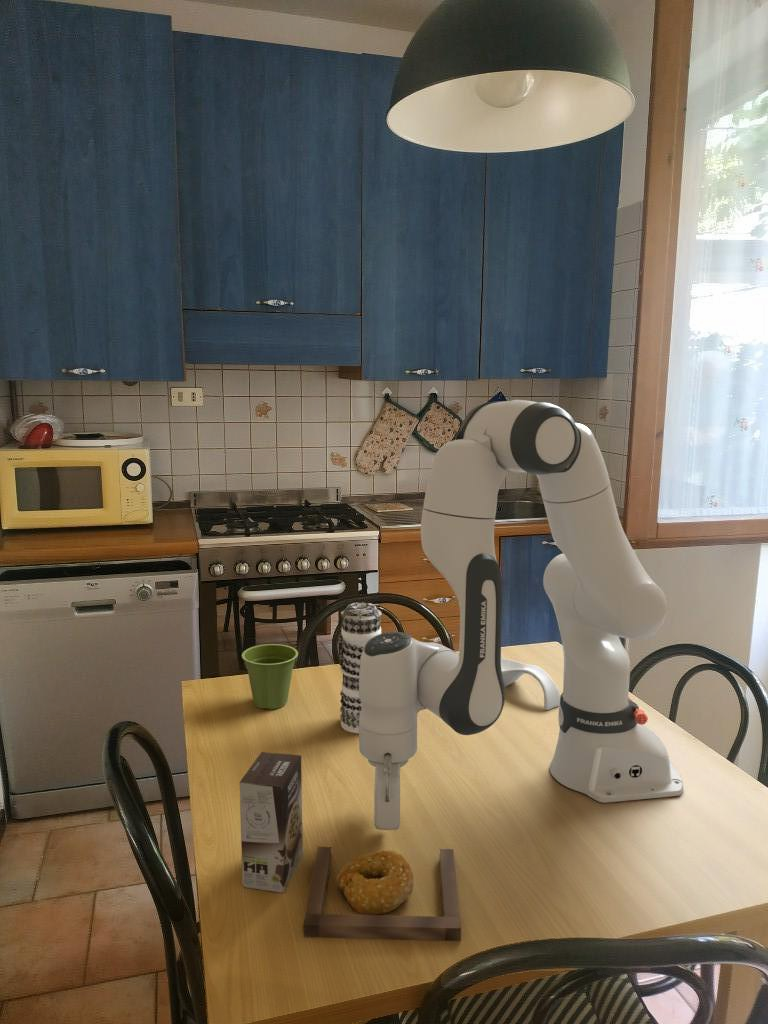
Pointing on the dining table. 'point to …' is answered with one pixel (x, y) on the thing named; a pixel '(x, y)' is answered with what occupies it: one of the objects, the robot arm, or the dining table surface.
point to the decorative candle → (354, 657)
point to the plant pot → (270, 673)
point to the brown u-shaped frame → (382, 924)
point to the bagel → (376, 882)
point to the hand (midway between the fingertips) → (388, 821)
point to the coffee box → (271, 821)
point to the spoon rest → (516, 669)
